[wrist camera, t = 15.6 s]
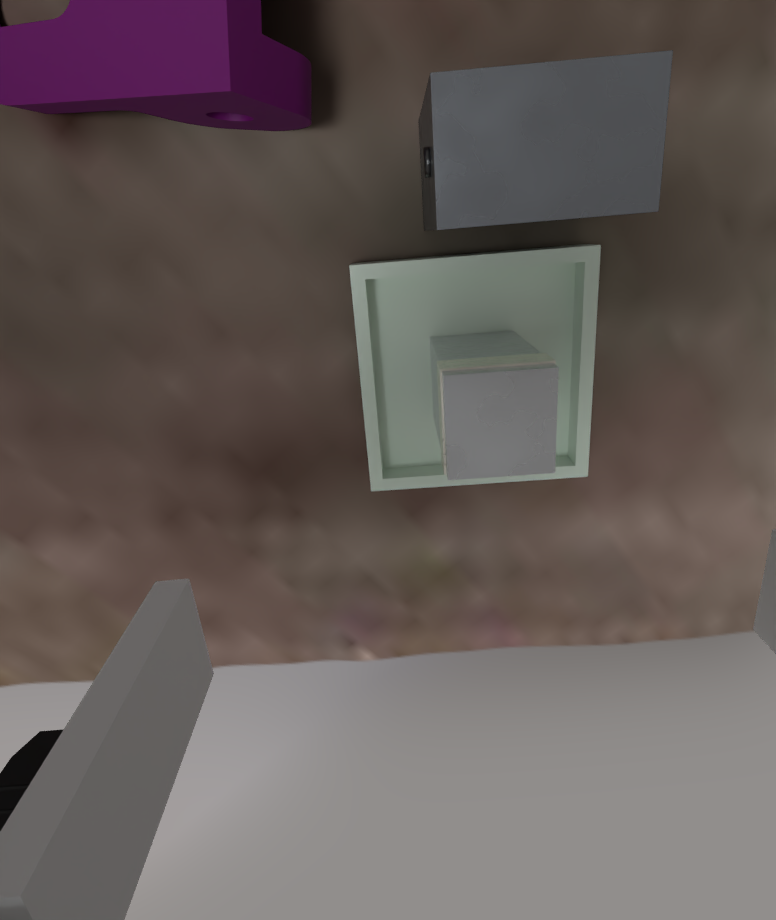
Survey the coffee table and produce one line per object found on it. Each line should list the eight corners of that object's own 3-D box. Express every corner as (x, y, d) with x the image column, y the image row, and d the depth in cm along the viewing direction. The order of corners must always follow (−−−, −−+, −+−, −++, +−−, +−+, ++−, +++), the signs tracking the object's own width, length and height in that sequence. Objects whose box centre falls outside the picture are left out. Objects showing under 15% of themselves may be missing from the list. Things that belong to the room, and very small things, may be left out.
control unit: (419, 230, 33) (430, 230, 24) (413, 120, 31) (423, 73, 22) (586, 217, 33) (665, 210, 23) (592, 105, 30) (680, 49, 21)
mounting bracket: (96, 135, 36) (340, 130, 29) (-47, 108, 29) (230, 92, 22) (73, -51, 33) (345, -109, 26) (-95, -133, 26) (215, -243, 19)
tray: (372, 475, 39) (371, 491, 36) (351, 263, 34) (349, 265, 31) (575, 461, 38) (587, 476, 36) (586, 243, 33) (601, 244, 31)
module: (431, 418, 36) (445, 482, 27) (427, 335, 34) (441, 373, 25) (514, 412, 36) (557, 474, 27) (514, 328, 34) (561, 364, 25)
